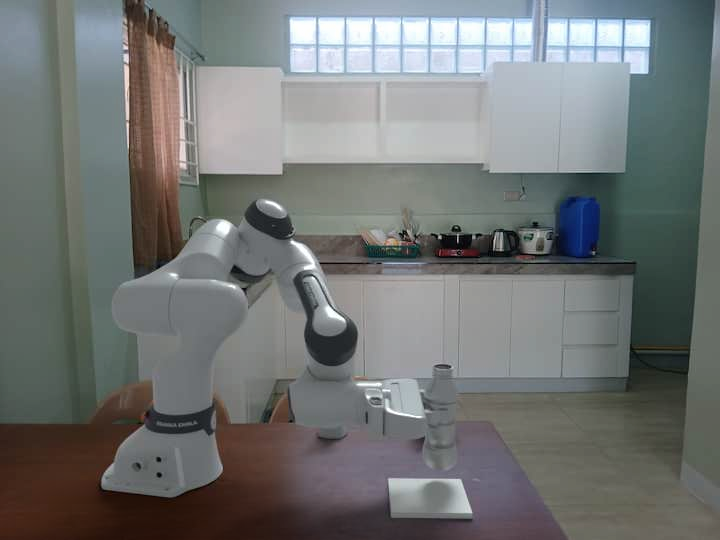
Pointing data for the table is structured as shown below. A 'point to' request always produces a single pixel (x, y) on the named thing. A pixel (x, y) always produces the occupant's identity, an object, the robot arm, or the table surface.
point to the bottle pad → (428, 498)
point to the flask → (332, 432)
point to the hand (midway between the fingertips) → (446, 406)
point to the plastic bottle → (441, 433)
